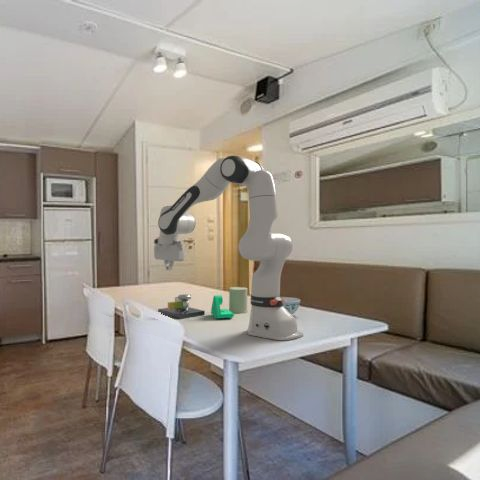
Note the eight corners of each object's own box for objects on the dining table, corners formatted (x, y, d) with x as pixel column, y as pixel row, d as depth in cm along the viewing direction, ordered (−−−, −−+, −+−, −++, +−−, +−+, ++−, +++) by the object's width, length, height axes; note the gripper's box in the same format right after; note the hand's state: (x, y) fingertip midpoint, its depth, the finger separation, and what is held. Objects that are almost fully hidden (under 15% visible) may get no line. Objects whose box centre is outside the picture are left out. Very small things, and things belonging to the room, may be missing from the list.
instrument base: (204, 315, 194) (204, 298, 194) (180, 319, 185) (180, 301, 185) (182, 309, 207) (182, 294, 207) (158, 313, 198) (158, 297, 198)
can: (250, 310, 206) (250, 286, 206) (242, 314, 198) (243, 289, 198) (233, 309, 210) (234, 285, 210) (225, 312, 202) (225, 287, 201)
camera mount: (234, 319, 186) (234, 296, 186) (217, 320, 184) (217, 297, 183) (226, 314, 197) (226, 293, 197) (211, 315, 195) (211, 293, 195)
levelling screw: (186, 308, 198) (186, 294, 198) (193, 310, 194) (193, 295, 194) (165, 311, 190) (165, 296, 190) (172, 313, 186) (172, 298, 186)
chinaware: (276, 311, 204) (276, 296, 204) (305, 315, 197) (305, 298, 197) (262, 316, 192) (262, 300, 191) (292, 320, 184) (292, 303, 184)
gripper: (187, 241, 189) (187, 271, 189) (163, 240, 204) (162, 268, 204) (176, 241, 185) (176, 272, 185) (151, 240, 199) (151, 268, 200)
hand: (168, 270), depth 194 cm, fingers closed
